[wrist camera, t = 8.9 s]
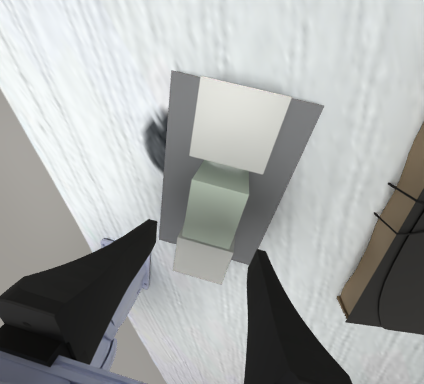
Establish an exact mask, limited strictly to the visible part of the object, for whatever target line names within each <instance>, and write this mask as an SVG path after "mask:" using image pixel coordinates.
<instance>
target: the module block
mask: <svg viewBox="0 0 424 384" xmlns="http://www.w3.org/2000/svg"><path fill="white" fill-rule="evenodd" d="M248 197H249V171H247V170H243V169H239V168H235V167H231V166H227V165H223V164H219V163H215V162H212V161H208V160H204V161H203V163H202V164H201V166H200V167H199V169H198V171H197V172H196V174H195V175H194V177H193V178H192V181H191V187H190V193H189V199H188V205H187V210H186V216H185V222H184V228H183V234H182V236H183V237H187V238H190V239H194V240H197V241H201V242H204V243H208V244H211V245H215V246H218V247H222V248H225V249H230V246H231V243H232V240H233V238H234V235H235V232H236V229H237V227H238V224H239V221H240V218H241V216H242V213H243V210H244V208H245V205H246V202H247V199H248Z"/></svg>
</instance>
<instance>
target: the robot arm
mask: <svg viewBox="0 0 424 384" xmlns="http://www.w3.org/2000/svg"><path fill="white" fill-rule="evenodd" d="M156 232H157V221H154V220H150V219H148V220H147V221H145V222H144V223H142V224H141V225H139V226H138V227H136V228H135V229H134V230H132V231H130V232H129V233H127V234H126V235H124V236H123V237H121V238H119V239H118V240H116V241H110V240H107V239H102V240H101V249H99V250H97V251H95V252H93V253H91V254H89V255H86V256H84V257H82V258H79V259H77V260H74V261H72V262H69V263H66V264H64V265H61V266H58V267H55V268H52V269H49V270H46V271H42V272H39V273H35V274H32V275H29V276H25V277H23V278H22V279H20V280H19V281H18V282H17V283H15V284H14V285H13V286H12V287H10V288H9V289H8V290H7V291H6V292H4V293H3V294H2V295H1V296H0V318H1V319H2V321H3V322H4V323H5V324H4V325H3V326H2V327H1V328H0V384H146V383H143V382H140V381H137V380H134V379H131V378H128V377H124V376H122V375H119V374H115V373H112V372H109V370H110V368H111V366H112V363H113V361H114V358H115V355H116V351H117V340H116V338H114V336H115V335H116V332H117V331H118V328H119V327H120V326H121V325H122V323H123V322H124V320H125V319H126V317H127V315H128V313H129V311H130V309H131V308H132V306H133V304H134V302H135V300H136V298H137V296H138V295H139V293H140V291H141V289H142V288H143V289H148V287H149V270H150V253H151V251H152V249H153V247H154V245H155V243H156ZM247 304H248V336H247V353H246V366H245V378H244V384H352V382H351V379H350V377H349V375H348V374H347V373H346V372H345V371H344V370H343V369H342V367H341V366H340V365H339V364H338V363H337V362H336V361H335V360H334V359H333V357H332V356H331V355H330V354H329V353H328V352H327V350H326V349H325V348H324V347H323V346H322V344H321V343H320V342H319V341H318V339H317V338H316V337H315V336H314V334H313V333H312V332H311V330H310V329H309V328H308V326H307V325H306V324H305V322H304V321H303V320H302V318H301V317H300V315H299V314H298V312H297V311H296V309H295V308H294V306H293V304H292V303H291V301H290V300H289V298H288V296H287V294H286V293H285V291H284V289H283V287H282V285H281V283H280V281H279V279H278V277H277V275H276V273H275V271H274V269H273V267H272V265H271V262H270V260H269V258H268V256H267V253H266V251H262V250H259V249H257V250H256V252H255V254H254V256H253V258H252V260H251V263H250V265H249V267H248V273H247Z"/></svg>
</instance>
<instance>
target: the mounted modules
mask: <svg viewBox="0 0 424 384" xmlns="http://www.w3.org/2000/svg"><path fill="white" fill-rule="evenodd" d="M291 98H292V97H290V96H285V95H281V94H277V93H272V92H268V91H264V90H259V89H255V88H251V87H246V86H242V85H238V84H233V83H229V82H225V81H221V80H216V79H212V78H208V77H203V76H201V78H200V84H199V91H198V98H197V105H196V112H195V119H194V126H193V133H192V140H191V147H190V154H189V156H192V157H196V158H200V159H204V160H208V161H212V162H215V163H219V164H223V165H227V166H231V167H235V168H239V169H243V170H247V171H251V172H255V173H258V174H262V175H263V173H264V170H265V168H266V165H267V162H268V160H269V157H270V154H271V152H272V149H273V146H274V144H275V141H276V138H277V136H278V133H279V130H280V128H281V125H282V122H283V120H284V117H285V114H286V112H287V109H288V106H289V104H290V101H291ZM183 228H184V225H183V227H182V229H181V231H180V233H179V235H178V237H177V244H176V251H175V258H174V265H173V271H176V272H179V273H183V274H186V275H190V276H193V277H196V278H200V279H203V280H207V281H210V282H214V283H217V284H220V285H222V282H223V280H224V277H225V274H226V272H227V269H228V266H229V264H230V261H231V258H232V256H233V253H234V242H235V235H234V238H233V240H232V243H231V246H230V249H225V248H222V247H218V246H215V245H211V244H208V243H204V242H201V241H197V240H194V239H190V238H187V237H183V236H182V234H183Z"/></svg>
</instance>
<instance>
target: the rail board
mask: <svg viewBox="0 0 424 384" xmlns="http://www.w3.org/2000/svg"><path fill="white" fill-rule="evenodd" d="M200 78H201V77H198V76H194V75H189V74H185V73H181V72H176V71H171V84H170V98H169V111H168V124H167V138H166V151H165V165H164V178H163V191H162V205H161V218H160V232H159V240H163V241H166V242H170V243H173V244H177V237H178V235H179V233H180V231H181V229H182V227H183V225H184V222H185V216H186V210H187V205H188V199H189V193H190V187H191V181H192V178H193V177H194V175H195V174H196V172H197V171H198V169H199V167H200V166H201V164H202V163H203V161H204V159H200V158H196V157H192V156H189V154H190V147H191V140H192V133H193V126H194V119H195V112H196V105H197V98H198V91H199V84H200ZM323 108H324V106H323V105H319V104H314V103H310V102H306V101H301V100H297V99H293V98H291V101H290V104H289V106H288V109H287V112H286V114H285V117H284V120H283V122H282V125H281V128H280V130H279V133H278V136H277V138H276V141H275V144H274V146H273V149H272V152H271V154H270V157H269V160H268V162H267V165H266V168H265V170H264V173H263V175H262V174H258V173H255V172H251V171H249V197H248V199H247V202H246V205H245V208H244V210H243V213H242V216H241V218H240V221H239V224H238V227H237V229H236V232H235V242H234V253H233V256H232V258H231V260H233V261H237V262H241V263H244V264H248V265H250V263H251V260H252V258H253V256H254V254H255V252H256V250H257V249H258V248H259V245H260V243H261V241H262V239H263V237H264V235H265V232H266V230H267V228H268V226H269V224H270V222H271V220H272V217H273V215H274V213H275V211H276V209H277V207H278V205H279V202H280V200H281V198H282V196H283V194H284V192H285V189H286V187H287V185H288V183H289V181H290V179H291V177H292V174H293V172H294V170H295V168H296V166H297V164H298V162H299V159H300V157H301V155H302V153H303V151H304V149H305V146H306V144H307V142H308V140H309V138H310V136H311V134H312V131H313V129H314V127H315V125H316V123H317V121H318V119H319V116H320V114H321V112H322V110H323Z"/></svg>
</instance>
